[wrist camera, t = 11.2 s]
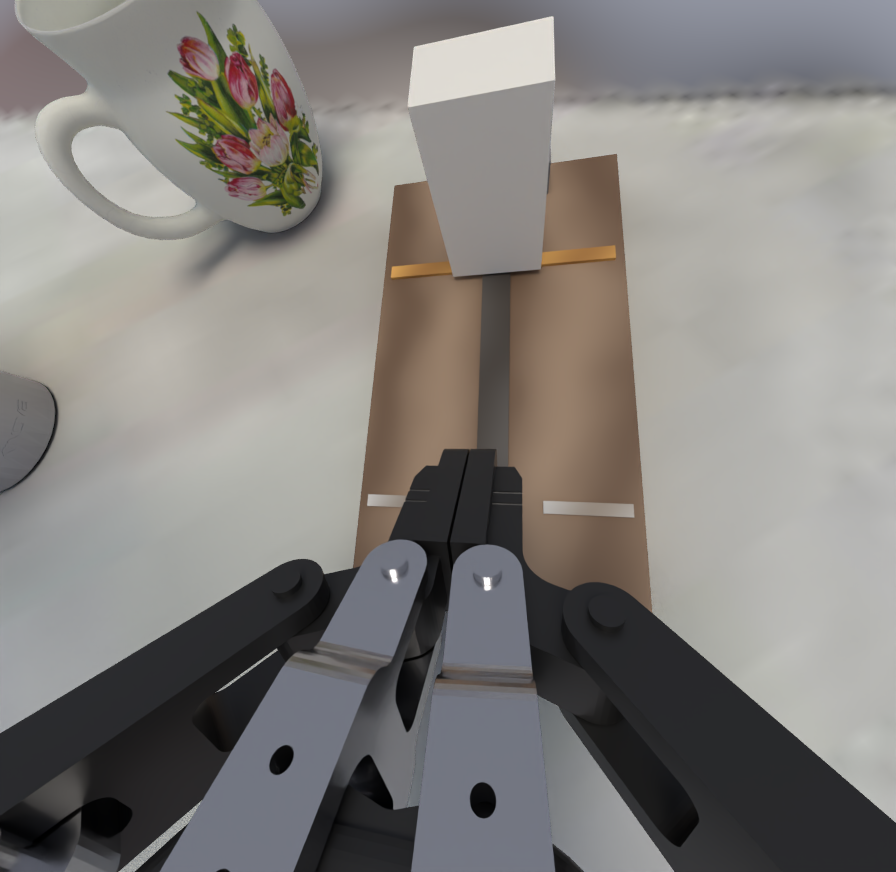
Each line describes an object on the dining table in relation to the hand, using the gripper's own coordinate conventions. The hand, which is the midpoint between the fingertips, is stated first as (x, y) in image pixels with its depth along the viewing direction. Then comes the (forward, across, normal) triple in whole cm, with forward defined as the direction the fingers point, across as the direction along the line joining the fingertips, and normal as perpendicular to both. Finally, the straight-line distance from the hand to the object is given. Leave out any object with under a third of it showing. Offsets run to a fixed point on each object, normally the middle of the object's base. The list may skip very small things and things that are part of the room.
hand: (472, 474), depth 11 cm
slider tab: (+15, 0, -5) cm, 16 cm away
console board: (+12, 0, +2) cm, 12 cm away
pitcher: (+23, +18, -9) cm, 31 cm away
